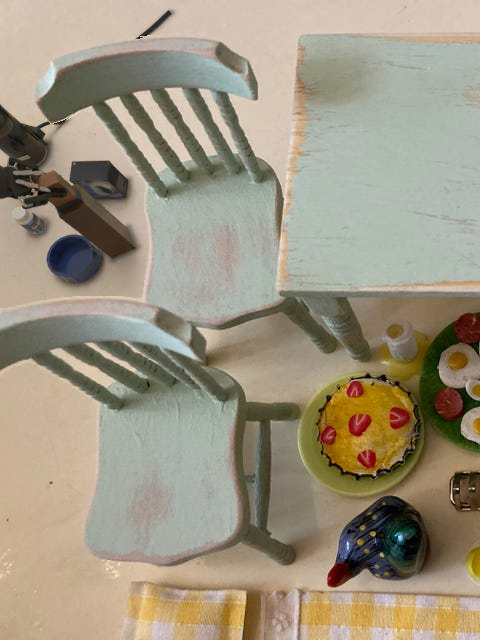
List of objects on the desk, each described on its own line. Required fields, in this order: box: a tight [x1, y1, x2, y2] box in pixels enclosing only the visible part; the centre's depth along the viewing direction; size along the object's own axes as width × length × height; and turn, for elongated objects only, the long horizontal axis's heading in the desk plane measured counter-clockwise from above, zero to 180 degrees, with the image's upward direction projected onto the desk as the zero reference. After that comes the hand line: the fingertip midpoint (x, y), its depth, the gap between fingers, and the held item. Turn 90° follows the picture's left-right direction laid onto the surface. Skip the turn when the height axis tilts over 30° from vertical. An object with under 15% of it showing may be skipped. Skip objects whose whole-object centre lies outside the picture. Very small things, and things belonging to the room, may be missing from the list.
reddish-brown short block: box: [32, 169, 82, 211], centre depth 164 cm, size 4×6×9 cm, turn 118°
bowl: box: [46, 233, 103, 284], centre depth 188 cm, size 13×13×4 cm
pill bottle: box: [10, 205, 47, 235], centre depth 190 cm, size 5×5×8 cm
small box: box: [68, 160, 129, 200], centre depth 192 cm, size 11×6×10 cm, turn 91°
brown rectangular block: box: [55, 183, 137, 259], centre depth 180 cm, size 7×7×24 cm
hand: (63, 185), depth 164 cm, fingers closed on reddish-brown short block, 3 cm apart
